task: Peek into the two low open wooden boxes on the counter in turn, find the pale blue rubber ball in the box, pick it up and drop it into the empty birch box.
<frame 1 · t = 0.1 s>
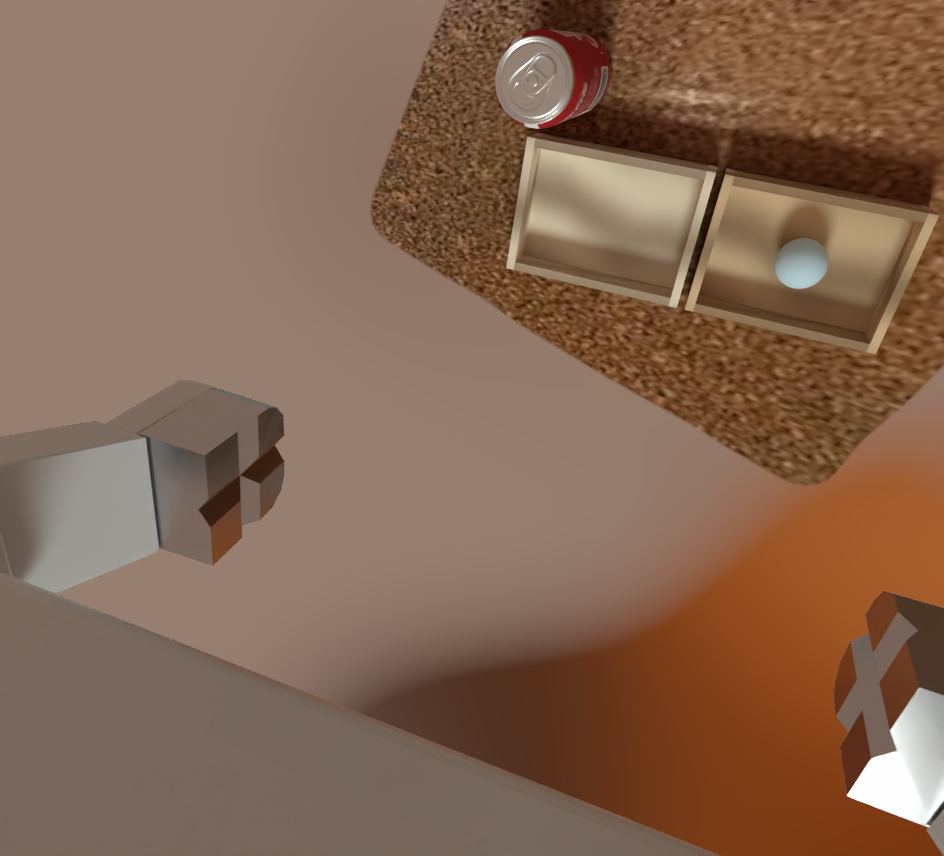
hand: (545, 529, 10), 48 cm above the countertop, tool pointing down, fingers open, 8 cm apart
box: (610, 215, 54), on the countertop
ball: (799, 257, 51), point 1 cm above the countertop, touching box
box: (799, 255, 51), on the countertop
soda can: (575, 74, 51), on the countertop
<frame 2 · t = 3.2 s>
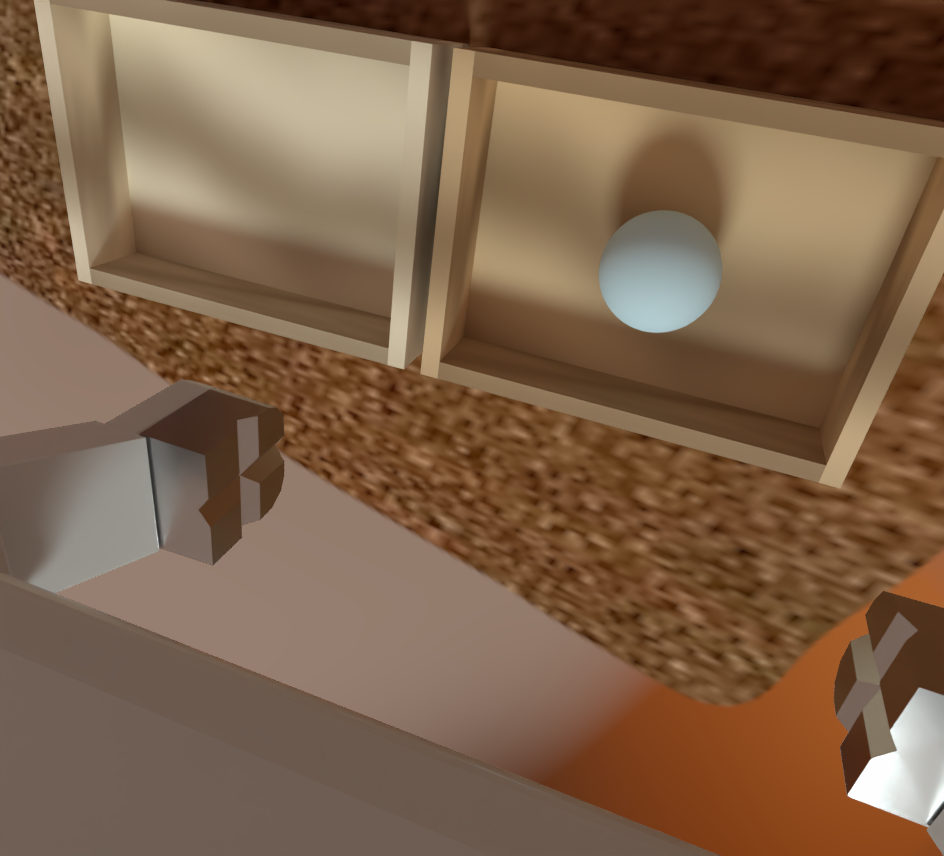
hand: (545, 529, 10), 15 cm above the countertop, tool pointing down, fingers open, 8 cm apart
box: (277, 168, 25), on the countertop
ball: (664, 257, 22), point 1 cm above the countertop, touching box
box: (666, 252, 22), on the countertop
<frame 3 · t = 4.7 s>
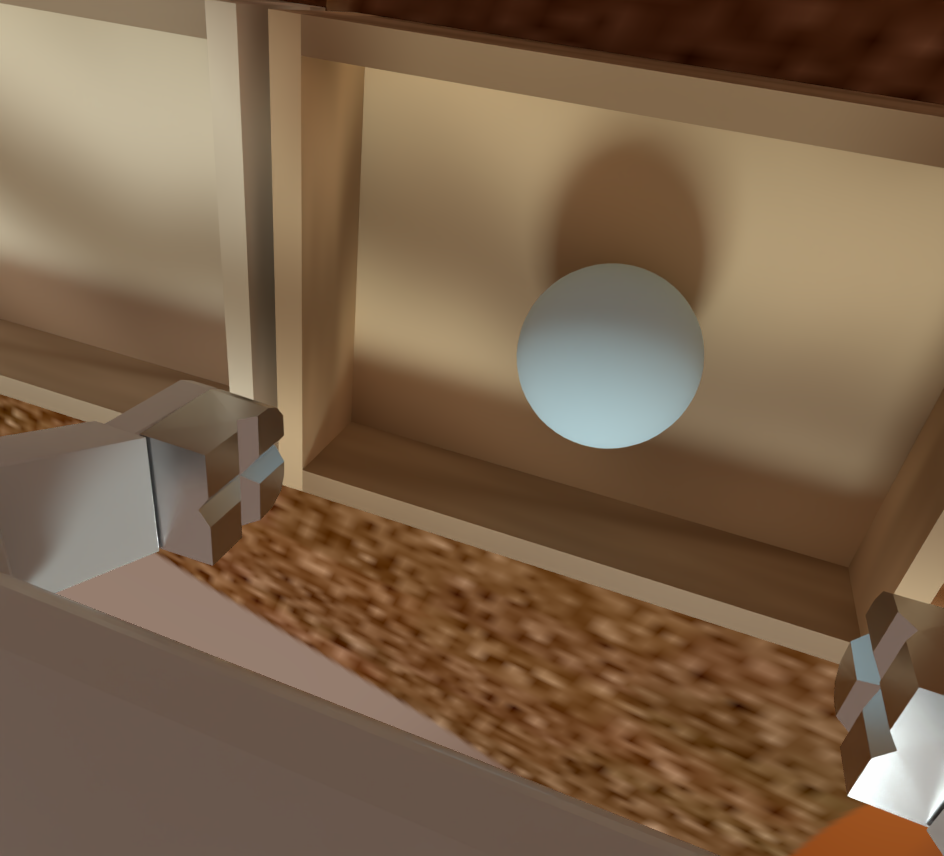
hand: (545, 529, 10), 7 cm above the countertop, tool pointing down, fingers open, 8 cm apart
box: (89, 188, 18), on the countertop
ball: (621, 325, 15), point 1 cm above the countertop, touching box
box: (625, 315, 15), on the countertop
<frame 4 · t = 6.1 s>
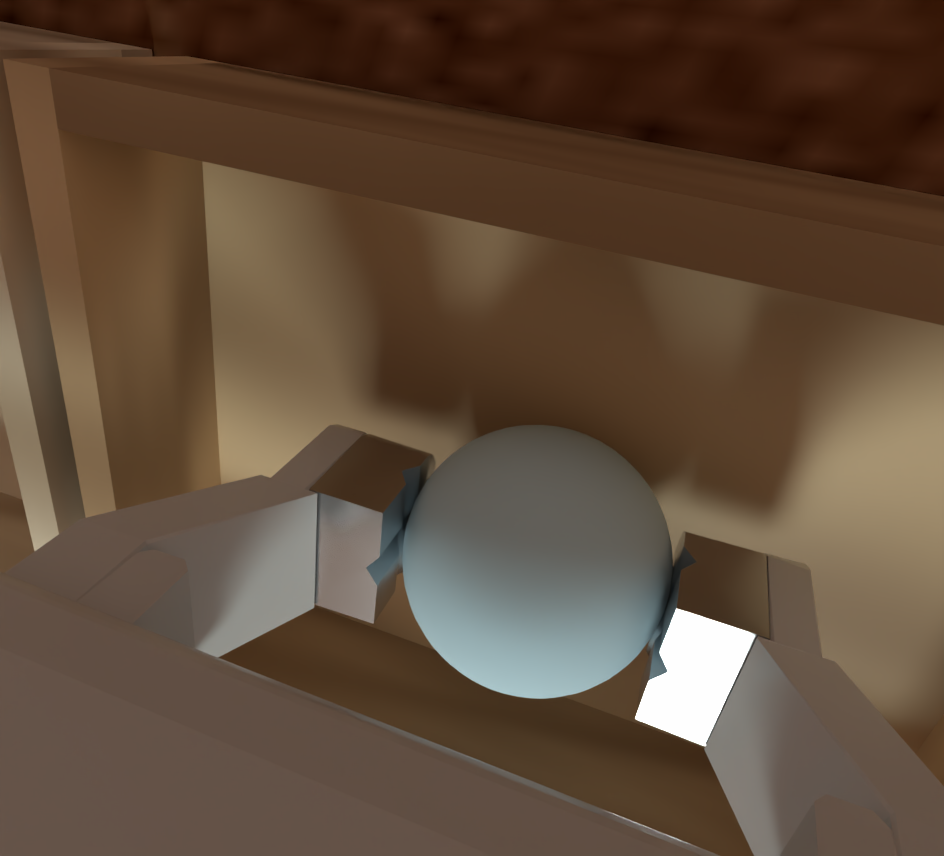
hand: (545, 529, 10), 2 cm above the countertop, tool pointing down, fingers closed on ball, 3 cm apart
ball: (563, 488, 11), point 1 cm above the countertop, touching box, gripper
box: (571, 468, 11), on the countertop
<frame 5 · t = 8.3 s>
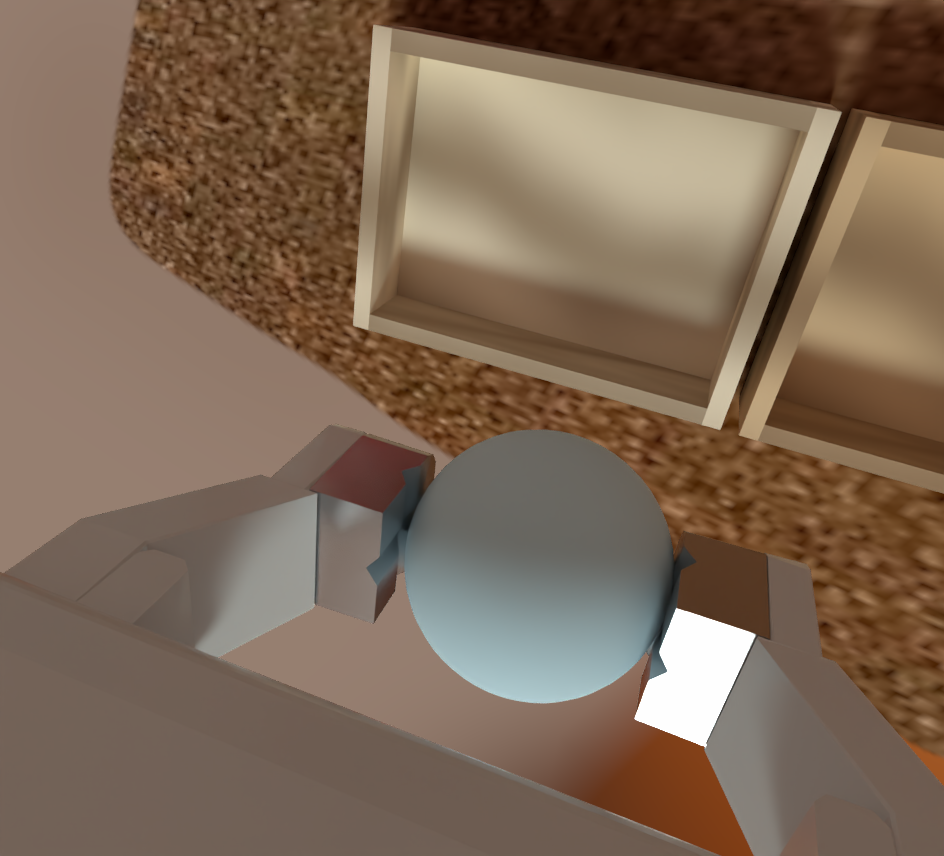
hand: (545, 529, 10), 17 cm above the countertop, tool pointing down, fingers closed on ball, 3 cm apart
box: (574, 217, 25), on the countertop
ball: (565, 492, 11), point 16 cm above the countertop, touching gripper
when the fingers open (4 cm above the countertop, at t = 10.9 s): ball drops 2 cm, resting on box.
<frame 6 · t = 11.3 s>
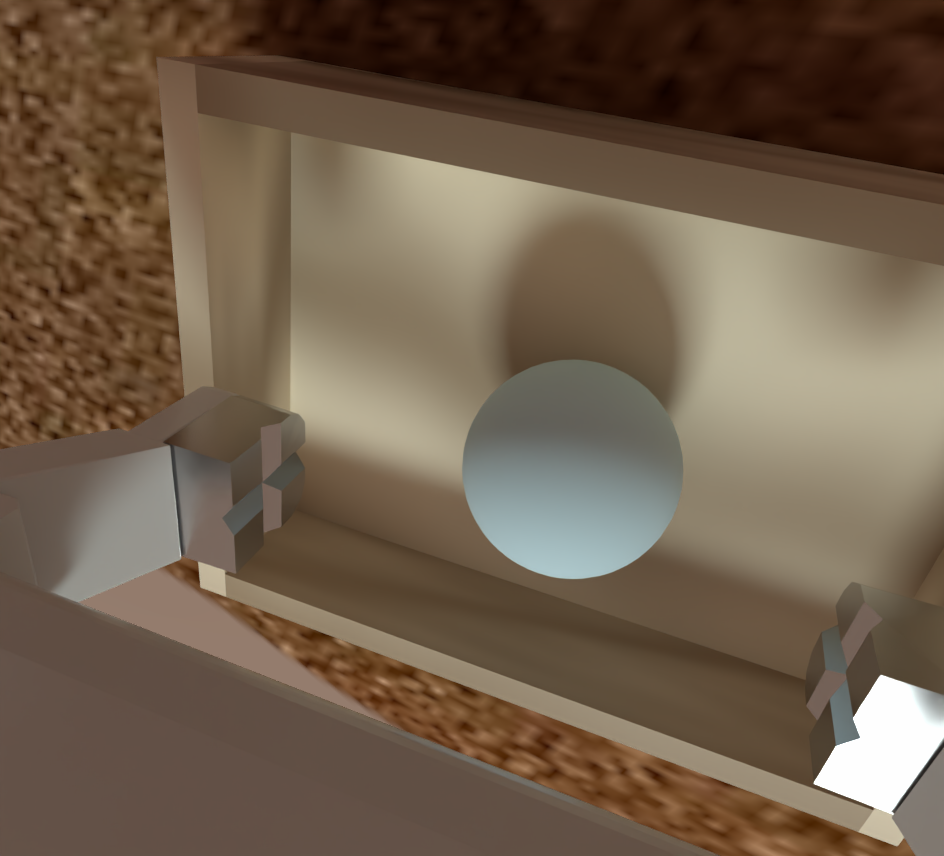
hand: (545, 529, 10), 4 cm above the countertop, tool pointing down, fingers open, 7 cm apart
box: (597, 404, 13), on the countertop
ball: (591, 421, 13), point 1 cm above the countertop, touching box
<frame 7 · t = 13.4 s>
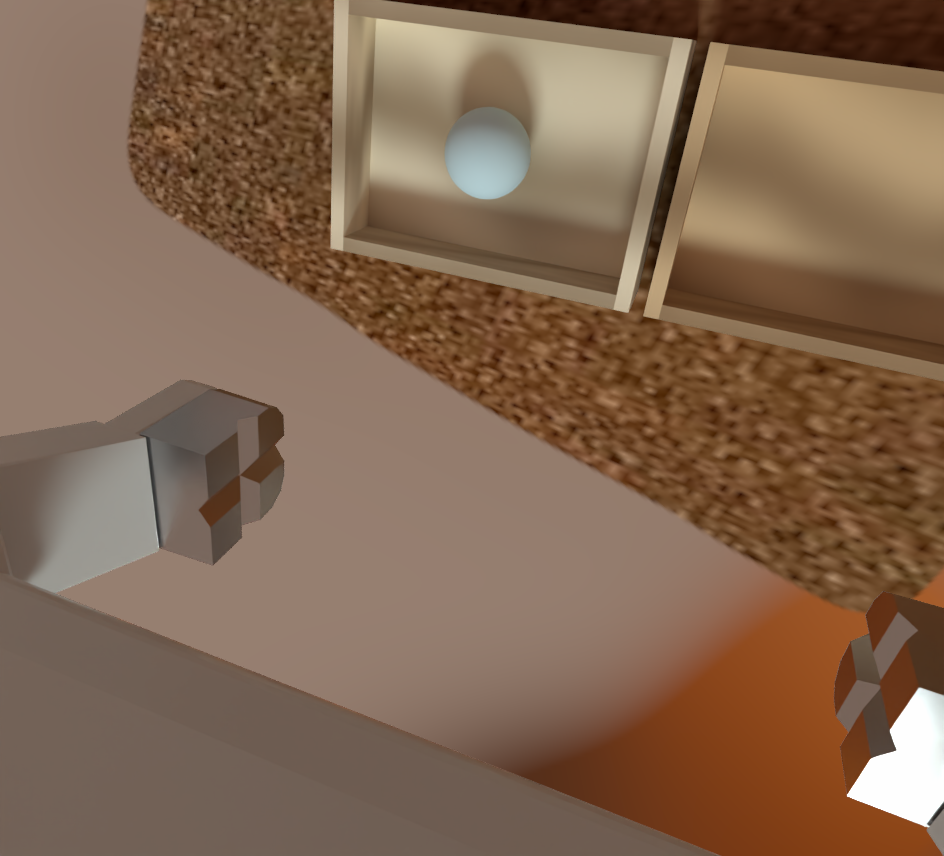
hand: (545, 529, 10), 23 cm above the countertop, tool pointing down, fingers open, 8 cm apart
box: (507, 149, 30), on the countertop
ball: (503, 153, 30), point 1 cm above the countertop, tilted 7°, touching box
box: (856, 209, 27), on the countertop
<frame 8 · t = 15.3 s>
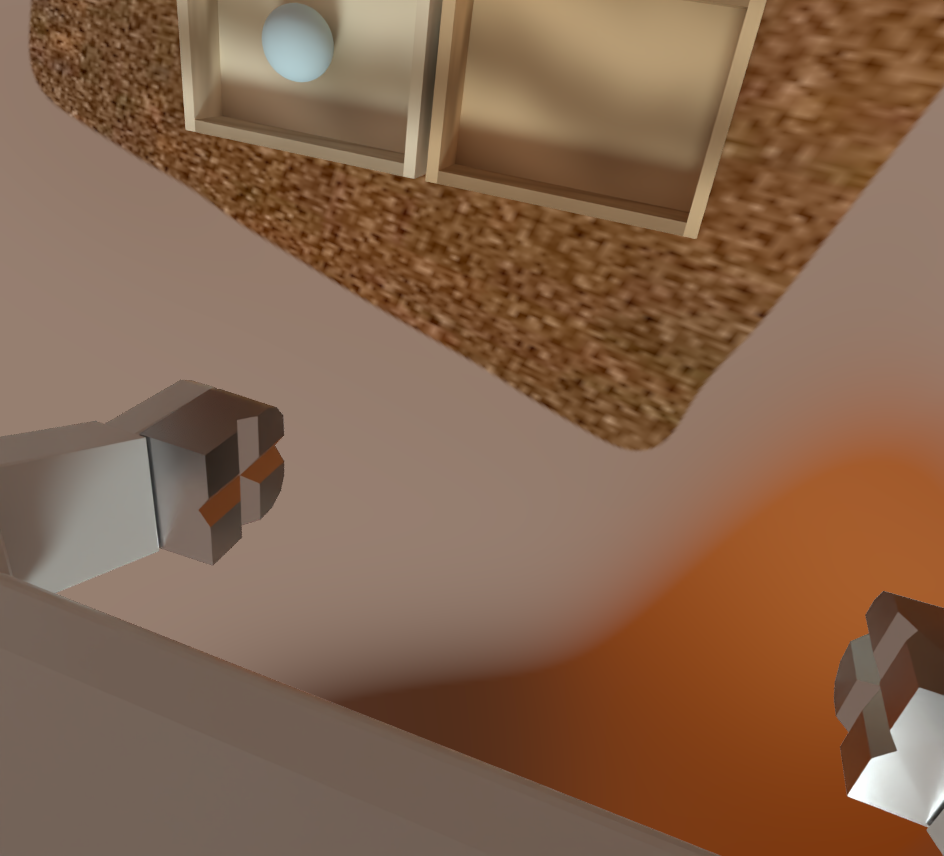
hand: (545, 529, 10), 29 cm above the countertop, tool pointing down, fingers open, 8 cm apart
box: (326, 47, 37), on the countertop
ball: (320, 49, 36), point 1 cm above the countertop, tilted 13°, touching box
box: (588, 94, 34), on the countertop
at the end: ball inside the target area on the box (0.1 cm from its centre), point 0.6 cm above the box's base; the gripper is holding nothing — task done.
